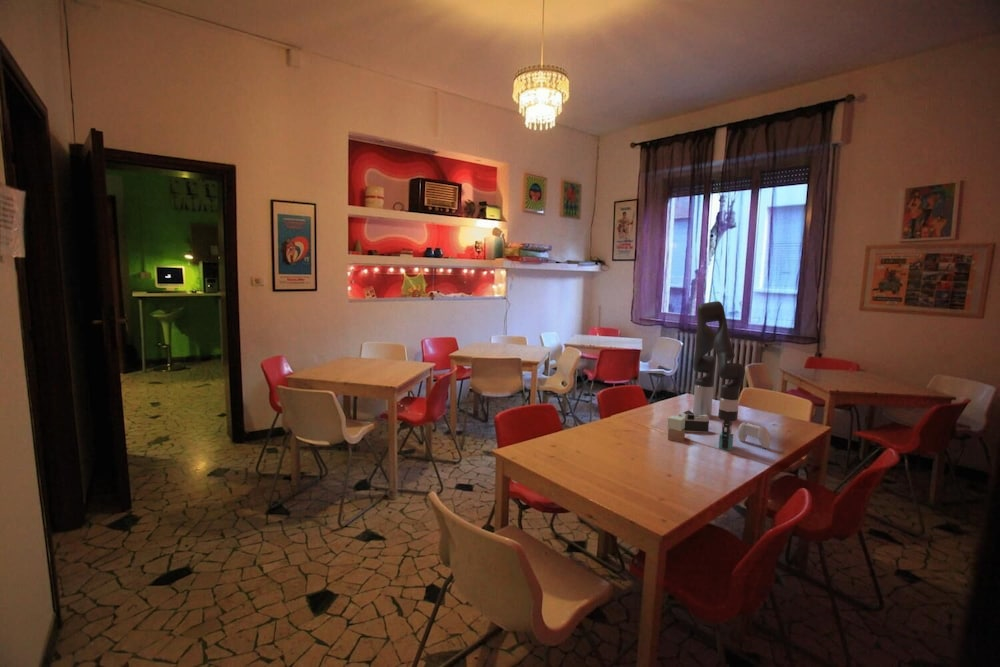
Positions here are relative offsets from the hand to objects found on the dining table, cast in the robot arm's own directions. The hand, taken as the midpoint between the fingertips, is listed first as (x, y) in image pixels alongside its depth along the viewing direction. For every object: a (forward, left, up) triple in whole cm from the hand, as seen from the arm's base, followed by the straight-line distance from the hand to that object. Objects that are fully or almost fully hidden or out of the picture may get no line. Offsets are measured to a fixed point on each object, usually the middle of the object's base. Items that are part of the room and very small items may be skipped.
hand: (725, 446), depth 207 cm
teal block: (0, 0, -1) cm, 1 cm away
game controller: (-11, +10, -1) cm, 15 cm away
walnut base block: (-1, -21, -1) cm, 21 cm away
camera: (-20, -18, -1) cm, 26 cm away
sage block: (-1, -21, +4) cm, 22 cm away
